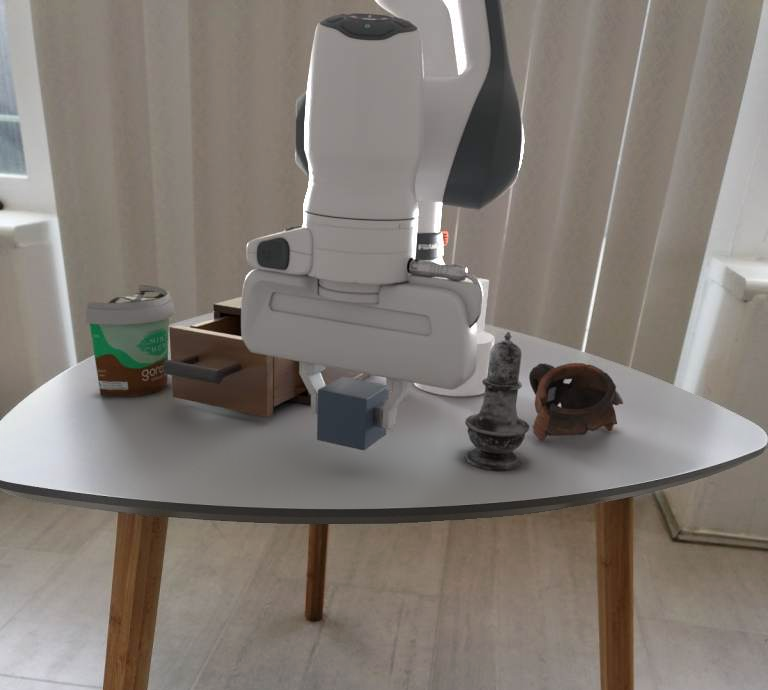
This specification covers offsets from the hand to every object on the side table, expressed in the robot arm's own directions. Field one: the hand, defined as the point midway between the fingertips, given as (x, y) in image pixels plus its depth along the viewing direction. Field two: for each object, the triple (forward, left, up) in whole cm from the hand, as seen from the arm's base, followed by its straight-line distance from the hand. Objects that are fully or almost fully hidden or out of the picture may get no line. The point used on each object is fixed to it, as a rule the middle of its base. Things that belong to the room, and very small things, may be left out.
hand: (352, 419), depth 71 cm
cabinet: (-22, -18, -5) cm, 29 cm away
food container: (-10, -30, -5) cm, 32 cm away
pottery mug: (-22, +14, -5) cm, 26 cm away
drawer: (-10, -18, -4) cm, 21 cm away
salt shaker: (-10, +10, -5) cm, 15 cm away
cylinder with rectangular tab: (-31, -2, -5) cm, 31 cm away
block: (0, 0, -2) cm, 2 cm away
